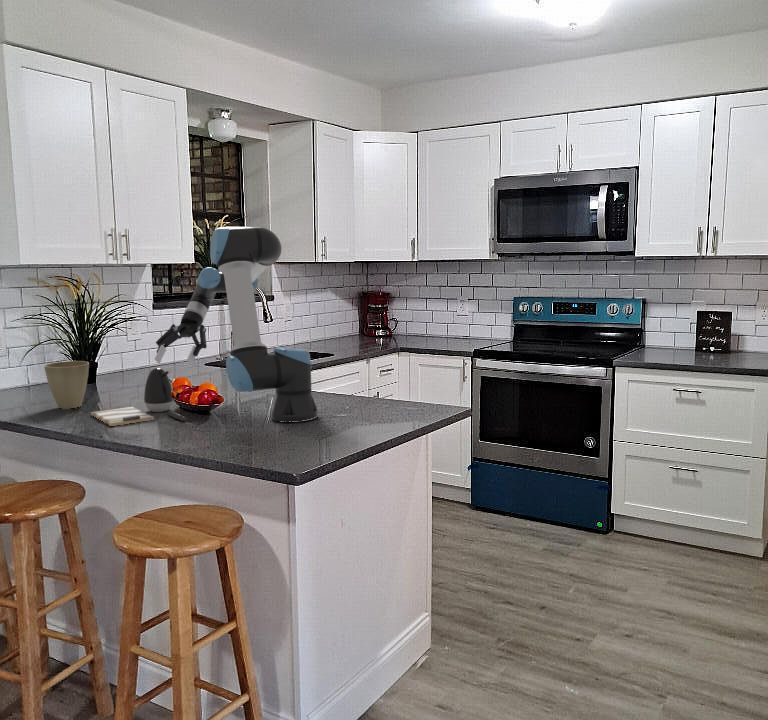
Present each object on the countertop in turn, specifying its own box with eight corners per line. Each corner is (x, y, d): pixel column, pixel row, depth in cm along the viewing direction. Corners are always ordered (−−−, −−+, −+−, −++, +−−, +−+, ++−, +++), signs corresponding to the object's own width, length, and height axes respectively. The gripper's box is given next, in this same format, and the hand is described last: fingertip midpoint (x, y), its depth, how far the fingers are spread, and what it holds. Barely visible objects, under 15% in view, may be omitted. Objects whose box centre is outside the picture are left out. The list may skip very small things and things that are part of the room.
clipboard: (154, 420, 244) (153, 413, 244) (110, 427, 236) (110, 420, 236) (132, 409, 262) (132, 403, 261) (91, 415, 253) (91, 409, 253)
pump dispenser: (159, 415, 252) (156, 371, 250) (138, 412, 258) (135, 369, 256) (181, 409, 261) (178, 366, 259) (160, 406, 266) (158, 364, 264)
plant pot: (40, 412, 261) (36, 367, 259) (59, 403, 276) (56, 361, 274) (81, 411, 261) (78, 366, 258) (99, 403, 275) (95, 360, 273)
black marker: (187, 421, 242) (186, 416, 241) (182, 422, 241) (182, 417, 240) (171, 414, 252) (171, 410, 252) (167, 415, 252) (166, 410, 251)
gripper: (227, 323, 277) (207, 369, 265) (170, 322, 285) (148, 366, 273) (219, 310, 271) (198, 356, 260) (161, 309, 279) (138, 354, 268)
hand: (172, 362), depth 266 cm, fingers open, 13 cm apart
